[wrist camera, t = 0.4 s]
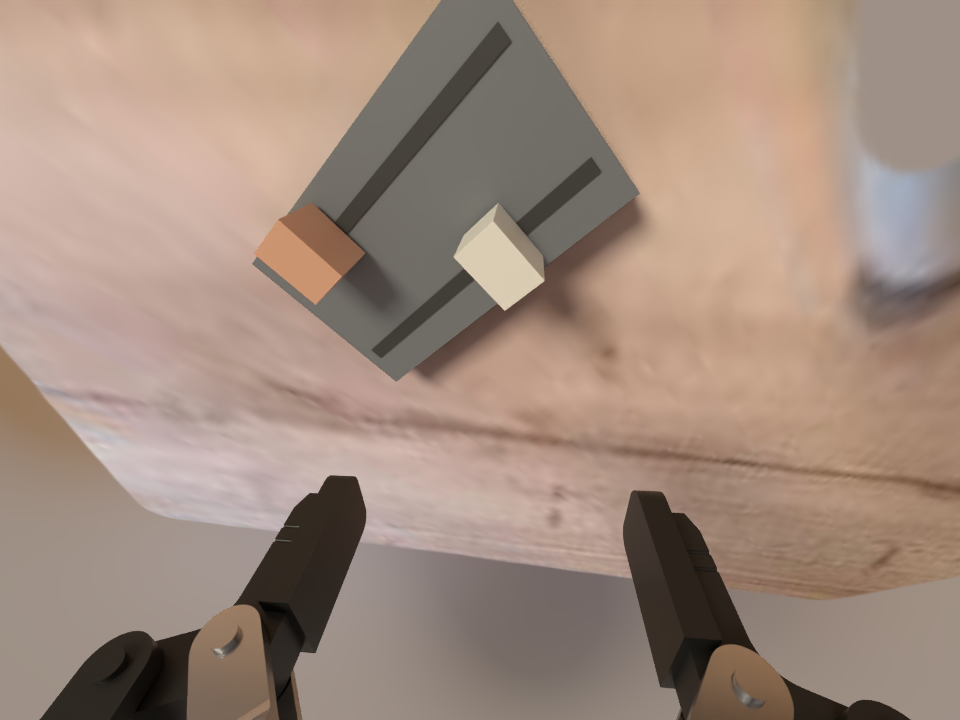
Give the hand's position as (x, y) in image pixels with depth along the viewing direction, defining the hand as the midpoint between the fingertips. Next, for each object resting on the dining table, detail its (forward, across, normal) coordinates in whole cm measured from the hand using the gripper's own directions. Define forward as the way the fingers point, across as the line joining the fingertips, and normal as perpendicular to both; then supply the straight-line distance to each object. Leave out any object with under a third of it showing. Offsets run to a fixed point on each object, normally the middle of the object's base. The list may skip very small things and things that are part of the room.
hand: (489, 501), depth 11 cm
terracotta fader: (+18, +12, -3) cm, 22 cm away
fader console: (+21, +5, -4) cm, 22 cm away
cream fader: (+18, 0, -3) cm, 18 cm away
